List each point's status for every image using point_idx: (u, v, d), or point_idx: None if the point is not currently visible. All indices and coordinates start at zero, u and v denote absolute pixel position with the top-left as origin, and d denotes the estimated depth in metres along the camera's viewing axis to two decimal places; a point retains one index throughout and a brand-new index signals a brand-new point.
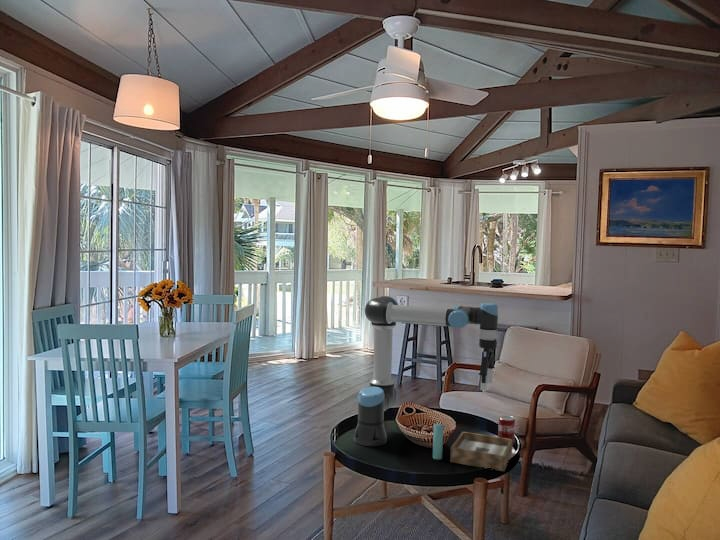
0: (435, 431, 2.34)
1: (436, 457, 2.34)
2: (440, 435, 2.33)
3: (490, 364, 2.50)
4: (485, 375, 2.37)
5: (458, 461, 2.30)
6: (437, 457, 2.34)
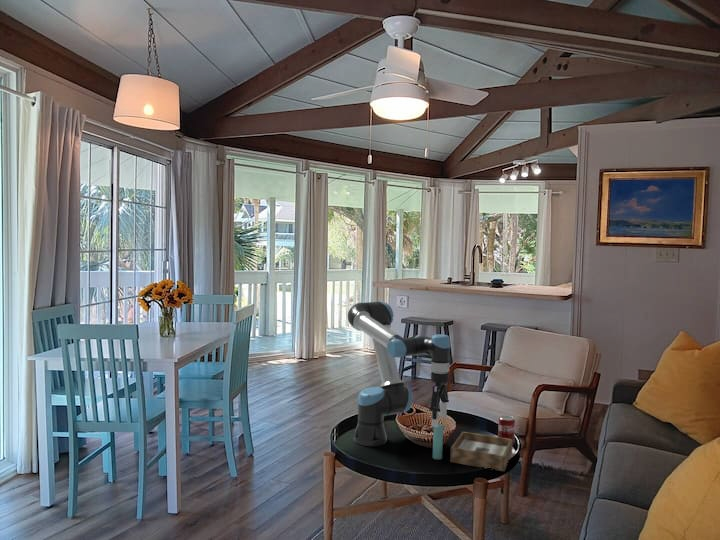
0: (435, 431, 2.34)
1: (436, 457, 2.34)
2: (440, 435, 2.33)
3: (444, 398, 2.39)
4: (436, 411, 2.26)
5: (458, 461, 2.30)
6: (437, 457, 2.34)
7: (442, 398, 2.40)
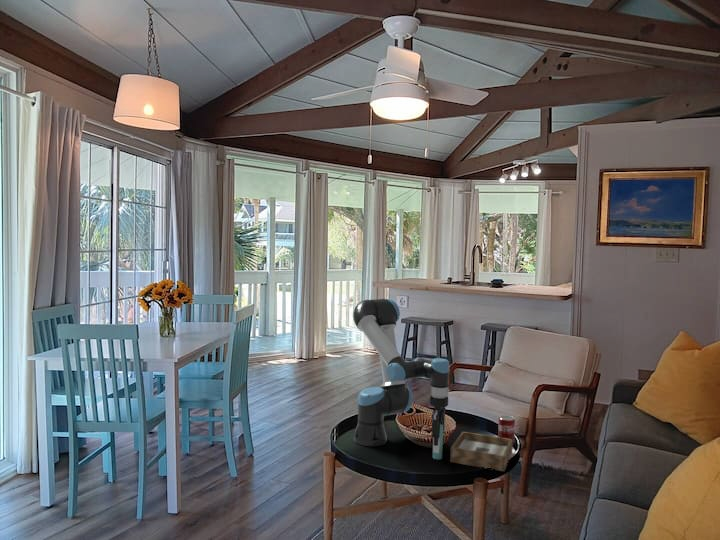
0: None
1: (436, 457, 2.34)
2: (440, 435, 2.33)
3: None
4: (437, 438, 2.32)
5: (458, 461, 2.30)
6: (437, 457, 2.34)
7: None
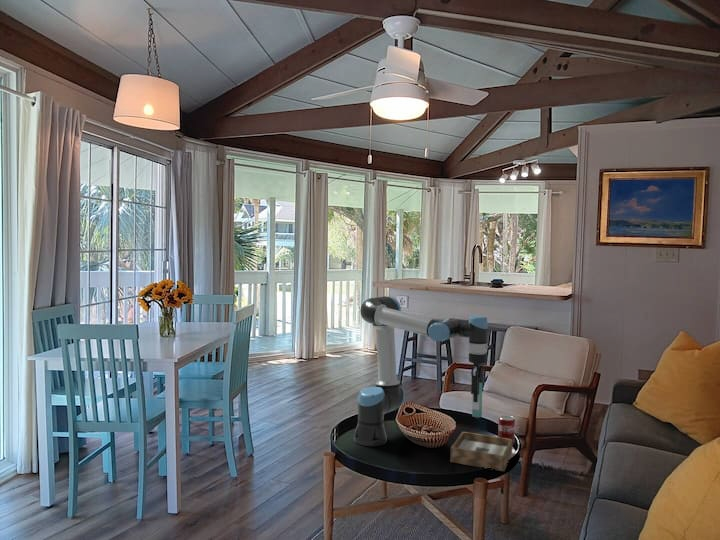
0: None
1: (476, 415, 2.33)
2: (479, 393, 2.33)
3: None
4: (477, 394, 2.31)
5: (458, 461, 2.30)
6: (477, 415, 2.33)
7: None
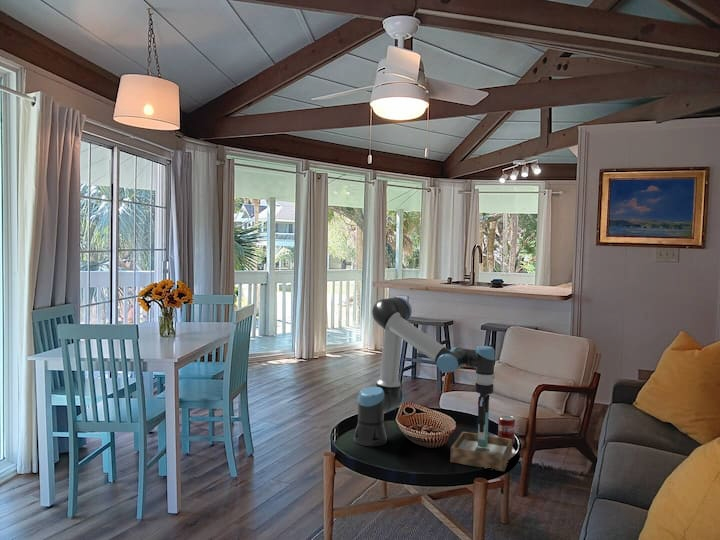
0: None
1: (481, 445, 2.35)
2: (485, 423, 2.35)
3: None
4: (483, 424, 2.33)
5: (458, 461, 2.30)
6: (482, 445, 2.35)
7: None
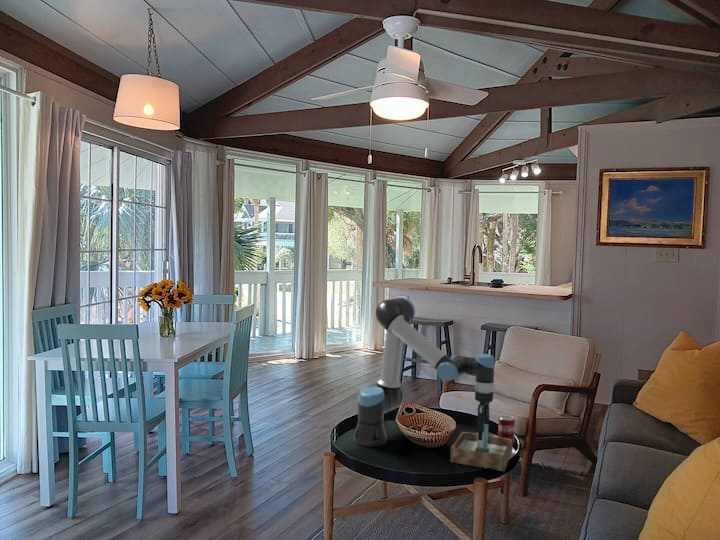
0: None
1: None
2: (485, 435, 2.35)
3: (486, 419, 2.40)
4: (482, 432, 2.30)
5: (458, 461, 2.30)
6: None
7: (484, 419, 2.41)
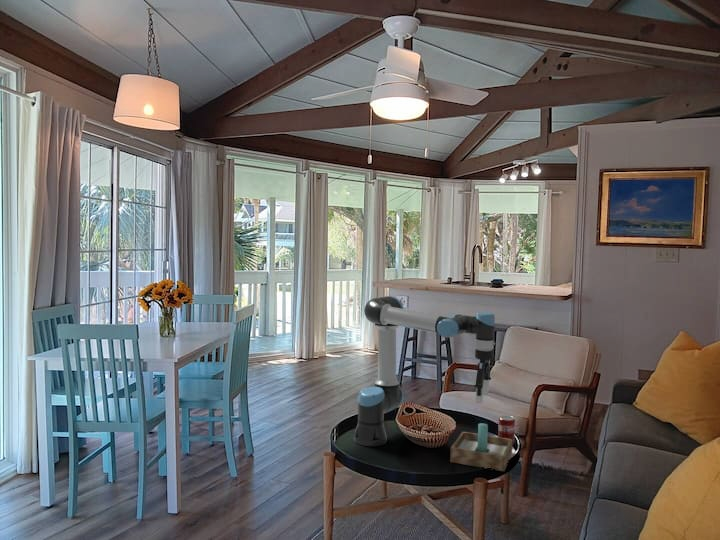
0: (480, 431, 2.35)
1: None
2: (485, 435, 2.35)
3: (486, 375, 2.41)
4: (481, 387, 2.28)
5: (458, 461, 2.30)
6: None
7: (485, 376, 2.42)
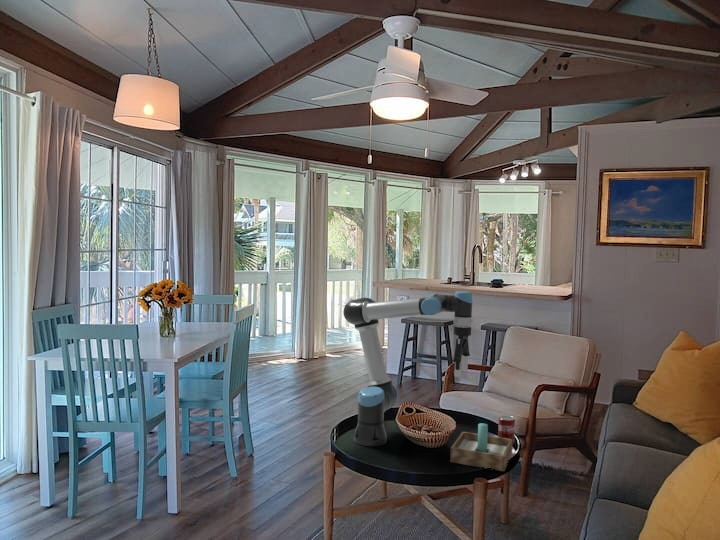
0: (480, 431, 2.35)
1: None
2: (485, 435, 2.35)
3: (465, 351, 2.53)
4: (459, 362, 2.40)
5: (458, 461, 2.30)
6: None
7: (464, 352, 2.53)
